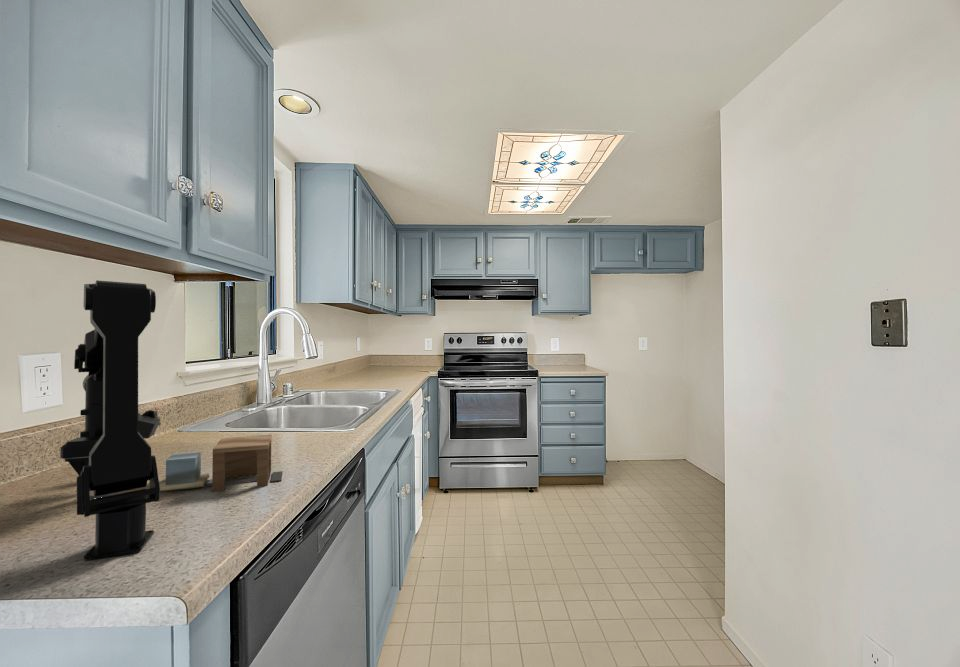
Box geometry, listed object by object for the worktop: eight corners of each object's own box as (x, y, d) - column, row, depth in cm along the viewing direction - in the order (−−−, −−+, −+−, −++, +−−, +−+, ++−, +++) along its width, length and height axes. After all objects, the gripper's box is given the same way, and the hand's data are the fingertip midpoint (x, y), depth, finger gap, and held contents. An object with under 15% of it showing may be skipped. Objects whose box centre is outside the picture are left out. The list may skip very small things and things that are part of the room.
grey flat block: (281, 481, 92) (281, 479, 92) (270, 482, 91) (270, 480, 91) (282, 472, 98) (282, 471, 98) (272, 473, 97) (272, 472, 97)
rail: (269, 479, 93) (269, 477, 93) (81, 500, 81) (81, 496, 81) (269, 476, 95) (269, 473, 95) (87, 495, 83) (87, 492, 83)
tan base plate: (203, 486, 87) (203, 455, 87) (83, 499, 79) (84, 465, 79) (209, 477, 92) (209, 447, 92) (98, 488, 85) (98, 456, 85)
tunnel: (267, 485, 89) (268, 444, 89) (212, 491, 86) (212, 449, 86) (271, 471, 99) (271, 434, 99) (221, 476, 95) (221, 438, 95)
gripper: (138, 407, 78) (137, 493, 77) (169, 394, 95) (168, 464, 95) (59, 411, 73) (57, 502, 73) (105, 396, 90) (104, 470, 90)
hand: (104, 482), depth 83 cm, fingers open, 9 cm apart
